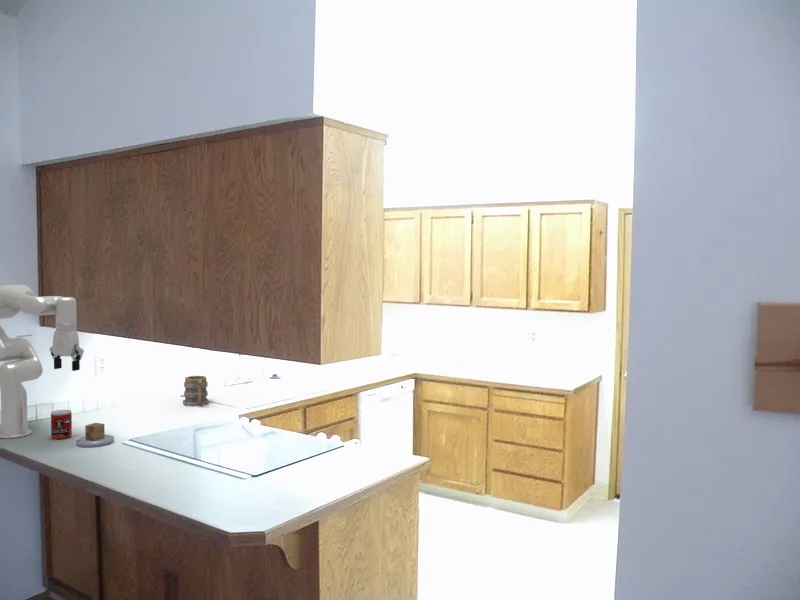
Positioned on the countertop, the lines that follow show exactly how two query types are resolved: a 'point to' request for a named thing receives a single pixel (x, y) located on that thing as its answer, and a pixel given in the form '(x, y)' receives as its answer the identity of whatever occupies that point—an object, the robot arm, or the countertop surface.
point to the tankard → (195, 391)
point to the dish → (94, 442)
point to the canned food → (61, 424)
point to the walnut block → (94, 432)
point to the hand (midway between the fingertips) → (66, 369)
